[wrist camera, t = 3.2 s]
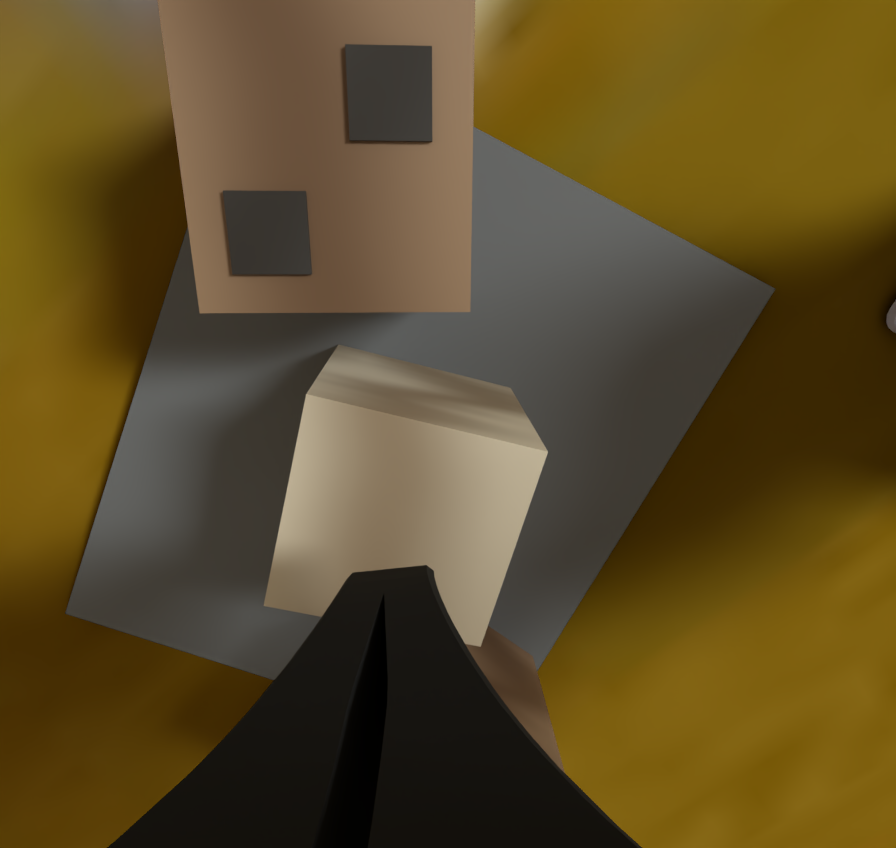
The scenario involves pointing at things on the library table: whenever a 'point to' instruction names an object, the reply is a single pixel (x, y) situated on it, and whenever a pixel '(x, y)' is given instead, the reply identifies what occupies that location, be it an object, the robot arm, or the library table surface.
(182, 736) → the library table surface
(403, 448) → the plain block
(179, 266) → the felt mat
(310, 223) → the pip block two
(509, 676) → the pip block one
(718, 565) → the library table surface
